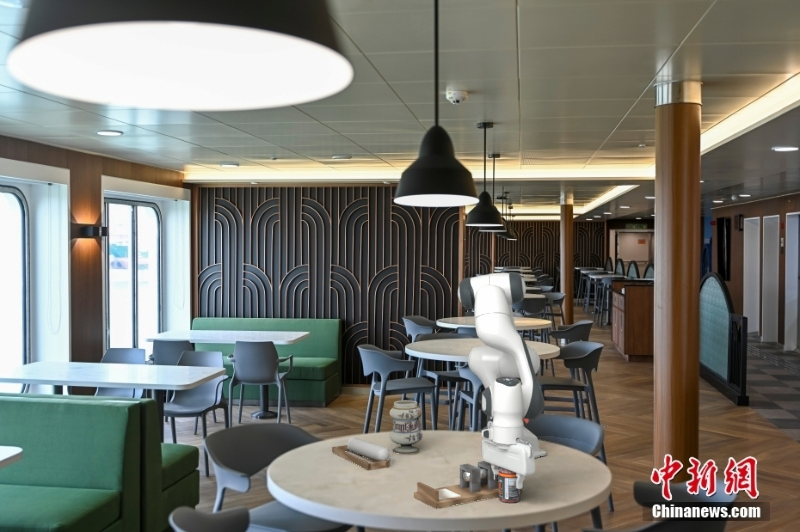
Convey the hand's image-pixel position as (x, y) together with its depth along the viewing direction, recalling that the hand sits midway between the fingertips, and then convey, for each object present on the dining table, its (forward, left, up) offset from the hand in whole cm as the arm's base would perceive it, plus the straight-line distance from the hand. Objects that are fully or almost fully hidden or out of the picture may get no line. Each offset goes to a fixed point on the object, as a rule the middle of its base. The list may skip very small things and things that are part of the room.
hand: (507, 484), depth 209 cm
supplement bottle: (-1, 0, -5) cm, 5 cm away
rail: (+6, -10, -5) cm, 13 cm away
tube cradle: (+15, -63, -5) cm, 65 cm away
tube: (+15, -62, -2) cm, 64 cm away
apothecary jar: (-5, -65, -5) cm, 65 cm away
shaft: (0, -10, -2) cm, 10 cm away
